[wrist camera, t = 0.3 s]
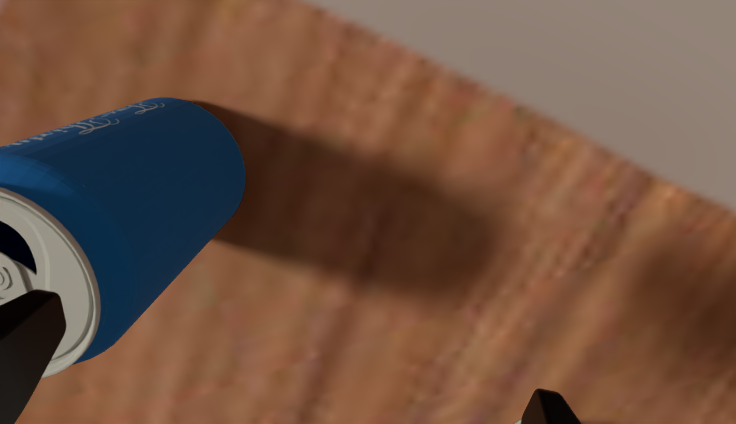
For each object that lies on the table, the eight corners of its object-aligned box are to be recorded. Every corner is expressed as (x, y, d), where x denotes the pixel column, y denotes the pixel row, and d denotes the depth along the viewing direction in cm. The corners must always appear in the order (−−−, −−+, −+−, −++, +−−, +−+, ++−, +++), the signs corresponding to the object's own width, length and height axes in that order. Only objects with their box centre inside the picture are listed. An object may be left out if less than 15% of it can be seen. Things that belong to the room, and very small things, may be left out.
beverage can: (239, 90, 24) (77, 161, 13) (259, 228, 26) (137, 393, 15) (99, 99, 24) (-172, 173, 13) (131, 232, 27) (-80, 393, 15)
